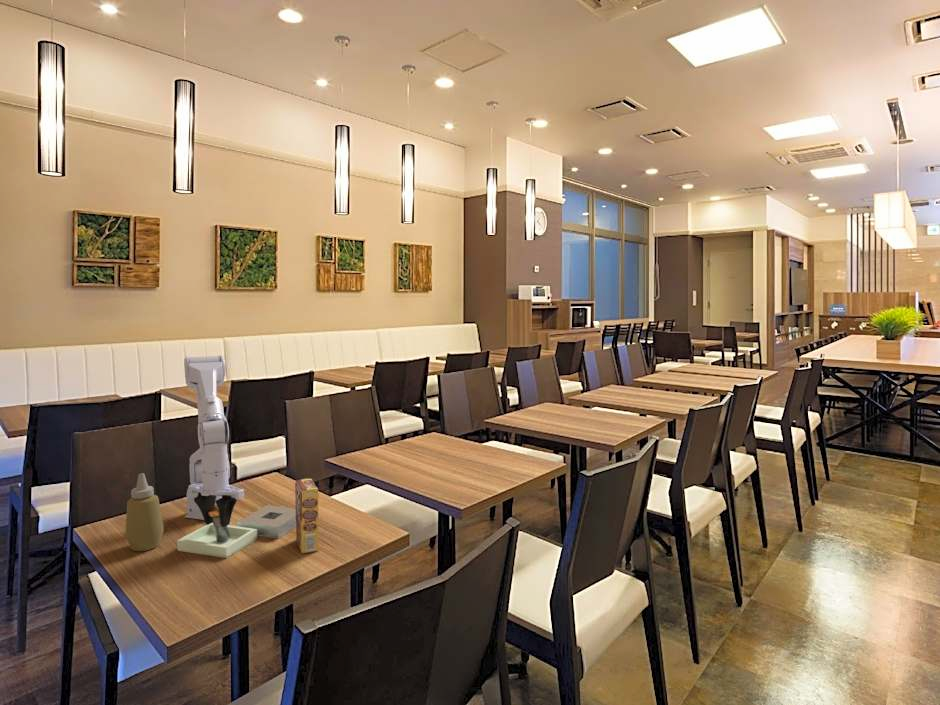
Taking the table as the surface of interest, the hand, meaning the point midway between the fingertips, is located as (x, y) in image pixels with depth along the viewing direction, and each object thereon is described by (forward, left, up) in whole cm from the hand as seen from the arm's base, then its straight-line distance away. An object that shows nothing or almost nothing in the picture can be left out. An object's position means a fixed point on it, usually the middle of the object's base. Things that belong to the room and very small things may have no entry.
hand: (217, 524), depth 138 cm
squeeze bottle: (-16, -6, -5) cm, 18 cm away
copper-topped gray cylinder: (+1, +1, -4) cm, 4 cm away
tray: (0, 0, -5) cm, 5 cm away
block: (+6, +13, -5) cm, 15 cm away
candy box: (+21, +6, -5) cm, 22 cm away
